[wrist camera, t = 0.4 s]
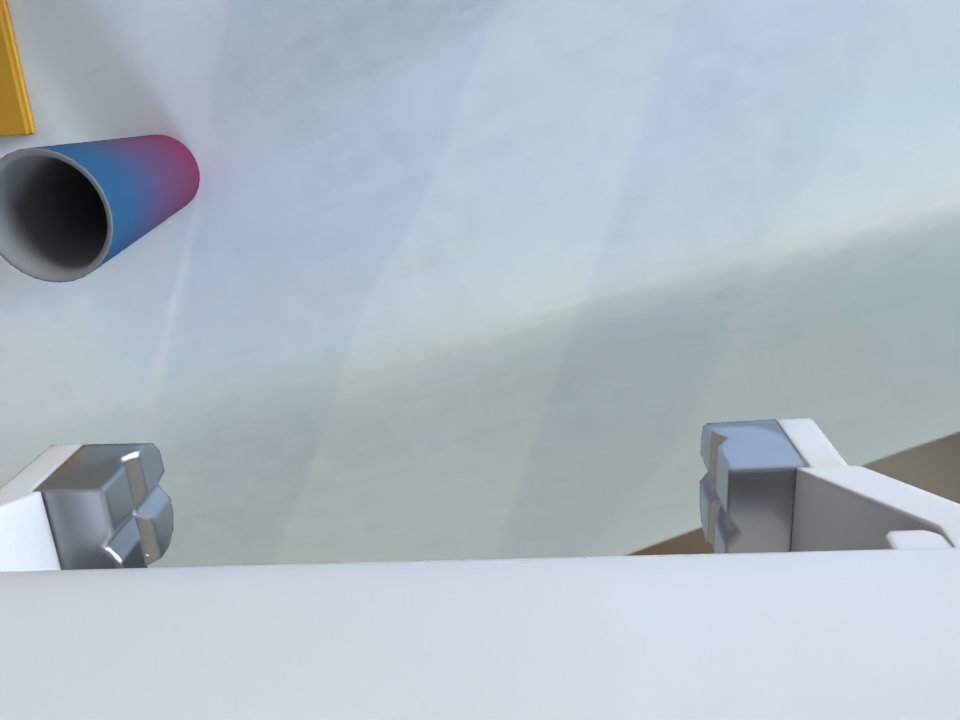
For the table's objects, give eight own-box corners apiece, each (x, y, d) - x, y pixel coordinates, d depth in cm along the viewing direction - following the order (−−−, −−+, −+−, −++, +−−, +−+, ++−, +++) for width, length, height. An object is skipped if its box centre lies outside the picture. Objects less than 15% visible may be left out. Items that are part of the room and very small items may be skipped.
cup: (133, 233, 59) (11, 294, 45) (96, 133, 57) (-44, 165, 43) (226, 212, 58) (132, 267, 44) (193, 109, 56) (82, 133, 42)
